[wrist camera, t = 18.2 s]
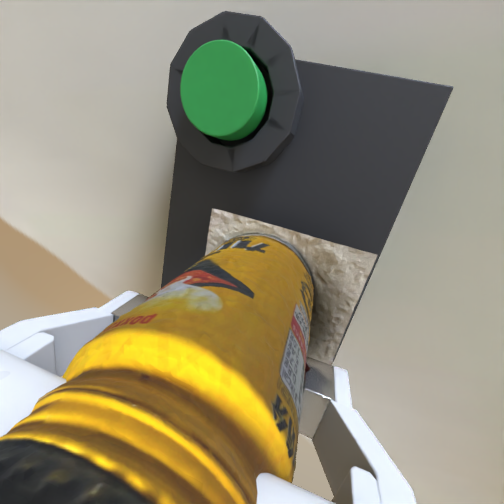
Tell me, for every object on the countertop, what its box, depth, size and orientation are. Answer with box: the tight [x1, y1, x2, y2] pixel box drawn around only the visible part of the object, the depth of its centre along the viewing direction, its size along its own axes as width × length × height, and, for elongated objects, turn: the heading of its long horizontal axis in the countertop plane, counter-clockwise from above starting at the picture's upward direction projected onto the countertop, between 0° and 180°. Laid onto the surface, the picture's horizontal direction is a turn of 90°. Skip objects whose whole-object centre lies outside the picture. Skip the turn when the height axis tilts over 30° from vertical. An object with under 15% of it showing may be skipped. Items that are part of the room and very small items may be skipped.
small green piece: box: [180, 40, 268, 141], centre depth 12 cm, size 4×4×2 cm
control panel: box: [161, 11, 453, 361], centre depth 16 cm, size 17×13×6 cm
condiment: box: [0, 208, 377, 504], centre depth 9 cm, size 7×8×12 cm
